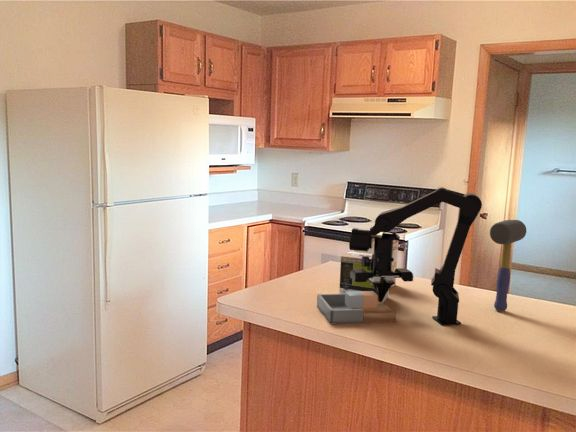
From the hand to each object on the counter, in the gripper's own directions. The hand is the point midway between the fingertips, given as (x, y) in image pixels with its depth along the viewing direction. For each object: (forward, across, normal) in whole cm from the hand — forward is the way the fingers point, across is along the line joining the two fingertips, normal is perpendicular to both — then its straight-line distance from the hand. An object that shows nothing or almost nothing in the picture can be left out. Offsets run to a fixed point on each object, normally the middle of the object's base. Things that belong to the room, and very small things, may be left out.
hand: (379, 301), depth 167 cm
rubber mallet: (+4, -41, +1) cm, 41 cm away
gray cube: (+1, +8, 0) cm, 8 cm away
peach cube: (+1, +4, 0) cm, 4 cm away
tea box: (+4, 0, -16) cm, 17 cm away
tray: (+4, +13, 0) cm, 14 cm away
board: (+4, +3, 0) cm, 5 cm away
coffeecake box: (+4, -10, -33) cm, 35 cm away
